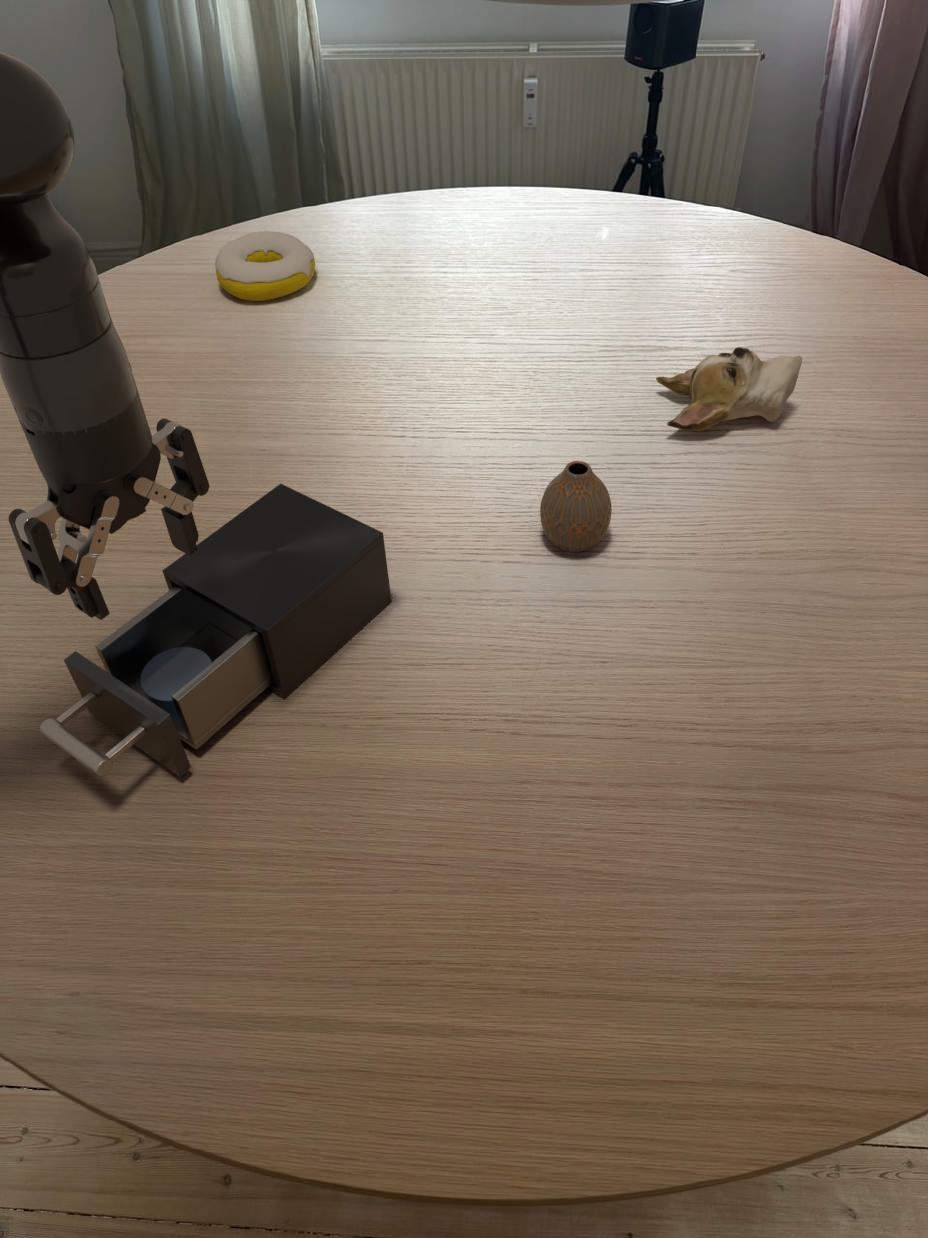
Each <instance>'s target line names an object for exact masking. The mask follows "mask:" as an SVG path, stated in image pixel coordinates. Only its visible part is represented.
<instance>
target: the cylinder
mask: <svg viewBox="0 0 928 1238" xmlns="http://www.w3.org/2000/svg"><path fill="white" fill-rule="evenodd" d="M211 663H212V660H211V658H210V657H209V656H208V655H207V654H206V653H205V652H203V651H202V650H199V649H197V648H193V647H176V648H172V649H169V650H166V651H164V652H162V653H160V654H158V655H156V656H155V657H154V658H152V659H151V660H150V661H149V662H148V663H147V664H146V666H145V667H144V669H143V671H142V673H141V677H140V684H141V687H142V690H143V692H144V695H145V697H146V699H148V700H149V701H151V702H152V703H154V704H155V705H157V706H158V707H160V708H161V709H163V710H164V711H166V712H167V713H169V714H170V716H171V718H172V719H180V718H179V715H178V713H177V710H176V707H175V705H174V702H173V700H172V697H171V696H172V695H174V694H175V693H176V692H177V691H178V690H180V689H181V688H182V687H183V686H184V685H186V684H187V683H188V682H189V681H190V680H192V679H193V678H194V677H195V676H196V675H198V674H199V673H200V672H201V671H202V670H204V669H205V668H206V667H207V666H208V665H210V664H211Z"/></svg>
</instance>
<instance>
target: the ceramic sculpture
mask: <svg viewBox="0 0 928 1238" xmlns="http://www.w3.org/2000/svg"><path fill="white" fill-rule="evenodd" d="M802 364H803V357H802V356H801V355H795V356H787V355H780V356H779V355H778V356H776V357H775V356H774V357H771V358H768V359H765V360H764V359H763V360H761V359H760V358H759V356H758V354H757V353H756V352H754V351H753V350H750V349H749V348H746V347H739V346H738V347H735V348H734V349H733V351H732V352H731V353H730V352H719V354H711V355H708V356H706V357H705V358H704V359H702V360H701V361H700V362H699V363H698V364H696V366H695V367H694V368H690V369H687V370H686V371H684V372H683V373H678V374H676V375H674V376H673V377H668V376H667V377H666V376H657V377H655V380H656V382H657V383H659V384H660V385H661V386H663V387H665V388H666V389H668V390H669V391H671V392H674V393H675V394H678V395H680V396H686V397H687V396H689V399H690V404H689V405H687V406H685V407H683V409H682V410H681V411H680V412H679V413H678V414H677V415H676V417H675V418H674V419H672V420H670V421H668V422H667V423H666V425H667V427H671V428H675V429H680V430H685V431H691V432H692V431H693V432H694V431H695V432H702V431H705V430H707V429H710V428H712V427H714V426H716V425H717V424H720V423H722V422H723V421H725V422H726V421H730V420H736V419H741V418H747V417H753V416H761V417H763V418H764V419H765V420H766V421H768V422H775V421H777V420H778V418H779V417H780V416H781V414H782V412H783V408H784V406H785V405H786V403H787V401H788V400H789V398H790V397H791V395H792V394H793V393H794V391H795V387H796V385H797V382H798V378H799V374H800V369H801V368H802Z"/></svg>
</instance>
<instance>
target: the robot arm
mask: <svg viewBox="0 0 928 1238" xmlns="http://www.w3.org/2000/svg"><path fill="white" fill-rule="evenodd" d="M69 115H70V114H69V111H68V110H67V108H66V106H65V104H64V102H63V100H62V99H61V97H60V95H59V94H58V93H57V91H56V90H55V88H54V87H53V86H52V85H51V84H50V83H49V82H48V80H47V79H46V78H45V77H44V76H43V75H42V74H41V73H39V72H38V71H37V70H36V69H34V67H32V66H31V65H29V64H27V63H26V62H25V61H22V60H21V59H19V58H17V57H15V56H12V55H11V54H8V53H5V52H3V51H0V377H1V381H2V383H3V385H4V388H5V391H6V393H7V395H8V397H9V400H10V401H11V404H12V407H13V410H14V412H15V414H16V417H17V419H18V421H19V425H20V427H21V428H22V431H23V433H24V435H25V438H26V440H27V443H28V445H29V447H30V450H31V453H32V455H33V457H34V460H35V461H36V464H37V467H38V469H39V471H40V473H41V475H42V477H43V478H44V479H45V480H44V481H45V482H46V485H47V497H46V501H45V502H43V503H42V504H40V505H38V506H36V507H34V508H32V509H30V510H29V511H25V510H24V509H22V508H15V509H13V510H12V511H10V513H9V514H8V523H9V525H10V528H11V531H12V534H13V536H14V538H15V542H16V544H17V546H18V549H19V551H20V554H21V557H22V560H23V562H24V564H25V567H26V570H27V573H28V575H29V577H30V580H31V581H32V582H34V583H36V584H39V585H40V586H42V587H44V588H45V589H46V590H48V591H49V592H50V593H51V594H53V595H55V596H61V595H62V594H64V593H65V592H66V591H68V594H69V596H70V598H71V600H72V603H73V605H74V607H75V608H76V609H77V610H79V611H80V612H81V613H84V614H85V615H87V616H88V617H90V618H91V619H93V618H94V617H95V618H96V619H98V620H100V621H102V620H104V619H105V618H107V617H108V616H109V615H110V611H109V607H108V605H107V603H106V601H105V598H104V595H103V594H102V591H101V588H100V587H99V586H100V585H99V584H98V581H97V579H96V578H95V577H93V574H94V570H95V566H96V562H97V559H98V557H101V556H103V554H104V552H105V549H106V545H107V542H108V539H109V538H108V537H109V534H110V535H113V534H114V533H116V532H117V531H119V530H121V528H123V526H124V525H126V524H127V522H128V521H129V520H134V519H136V518H138V517H140V516H141V515H142V514H145V513H146V512H147V509H146V507H147V506H148V505H149V503H150V501H153V502H155V503H157V504H158V505H161V506H163V507H162V508H160V511H161V513H162V518H163V520H164V524H165V526H166V529H167V533H168V536H169V538H170V539H169V540H170V542H171V544H172V545H173V547H174V548H176V549H177V550H178V551H180V552H181V553H183V554H185V553H186V554H187V555H191V554H192V553H194V552H195V551H196V550H197V545H198V544H197V543H198V542H199V535H200V534H199V531H198V527H197V525H196V520H195V518H194V517H195V516H194V514H193V509H194V507H195V505H194V502H195V500H196V499H197V498H198V497H199V496H200V497H202V496H205V495H206V494H208V492H209V490H210V482H209V480H208V477H207V474H206V471H205V467H204V465H203V462H202V459H201V456H200V453H199V450H198V447H197V445H196V444H197V443H196V441H195V438H194V435H193V432H192V431H191V429H189V428H187V427H185V426H182V425H180V424H178V423H176V422H174V421H172V420H170V419H168V418H165V417H164V418H163V417H162V418H161V419H159V421H157V424H156V426H155V428H156V433H154V434H152V432H151V428H150V426H149V425H150V424H149V422H148V419H147V416H146V412H145V409H144V406H143V403H142V401H141V400H142V399H141V396H140V393H139V390H138V386H137V383H136V380H135V377H134V373H133V370H132V365H131V363H130V360H129V356H128V354H127V351H126V349H125V346H124V344H123V341H122V339H121V338H120V335H119V333H118V331H117V329H116V326H115V324H114V321H113V319H112V317H111V313H110V310H109V306H108V304H107V300H106V297H105V295H104V291H103V288H102V285H101V281H100V278H99V276H98V272H97V269H96V266H95V263H94V260H93V258H92V254H91V252H90V250H89V248H88V246H87V244H86V243H85V240H84V239H83V238H82V236H81V235H80V234H79V233H78V231H77V230H75V229H74V227H73V226H71V224H70V223H69V222H68V221H66V219H64V217H63V216H62V215H61V214H60V213H59V211H58V210H57V209H56V207H55V206H54V203H53V202H52V200H51V198H50V197H49V194H50V193H52V192H53V191H54V190H55V189H56V188H57V187H58V186H59V185H61V183H62V182H63V181H64V179H65V178H66V176H67V175H68V172H69V170H70V169H71V166H72V163H73V159H74V154H75V134H74V133H75V132H74V128H73V125H72V124H73V123H72V120H71V117H70V116H69ZM162 455H163V456H165V457H166V460H167V462H168V464H169V468H170V470H171V473H172V475H173V478H174V484H173V485H172V486H171V487H170V488H168V487H166V486H164V485H162V484H160V483H158V482H156V479H157V475H158V471H159V468H160V464H161V461H162ZM60 518H61V521H60V525H59V527H58V532H57V533H56V527H55V526H56V522H57V521H58V520H59V519H60ZM81 527H82V528H85V529H86V530H88V535H87V536H85V535H84V534H82V532H81ZM57 538H58V541H59V543H60V545H59V548H58V551H57V549H56V547H55V544H54V541H55V540H56V539H57Z"/></svg>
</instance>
